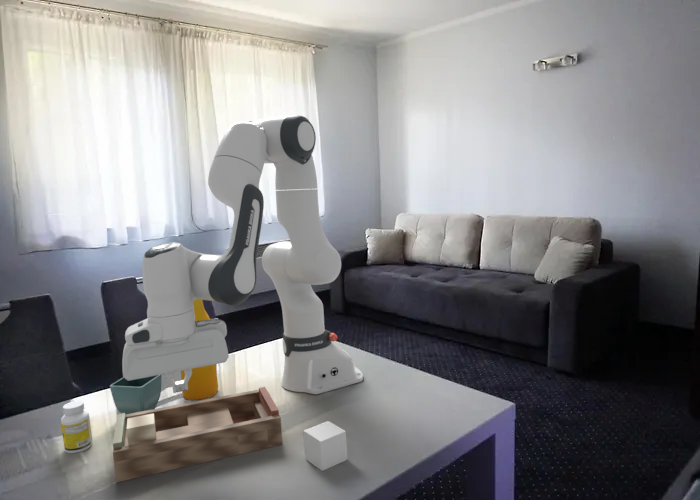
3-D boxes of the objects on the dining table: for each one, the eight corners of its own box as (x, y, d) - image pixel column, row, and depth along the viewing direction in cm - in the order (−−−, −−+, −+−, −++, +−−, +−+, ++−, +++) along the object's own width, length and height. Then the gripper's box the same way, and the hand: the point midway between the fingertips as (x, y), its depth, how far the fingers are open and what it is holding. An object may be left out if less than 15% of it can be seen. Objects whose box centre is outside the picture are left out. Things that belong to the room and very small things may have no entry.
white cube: (305, 459, 101) (303, 430, 100) (329, 448, 105) (327, 420, 104) (322, 471, 96) (320, 441, 96) (347, 459, 100) (345, 430, 99)
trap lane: (265, 412, 123) (263, 384, 122) (282, 444, 107) (280, 412, 106) (121, 441, 112) (117, 411, 111) (116, 482, 96) (112, 447, 95)
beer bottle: (206, 402, 130) (196, 291, 127) (175, 399, 133) (165, 290, 129) (225, 388, 139) (216, 284, 135) (195, 385, 142) (186, 283, 138)
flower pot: (145, 423, 120) (141, 386, 119) (112, 421, 122) (108, 385, 121) (165, 407, 129) (162, 373, 128) (134, 405, 130) (131, 372, 129)
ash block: (156, 436, 105) (153, 413, 104) (156, 447, 100) (154, 423, 100) (129, 441, 103) (127, 418, 102) (129, 453, 98) (126, 428, 98)
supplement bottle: (71, 442, 112) (66, 400, 111) (96, 440, 113) (92, 398, 112) (59, 455, 107) (54, 410, 106) (86, 452, 107) (81, 408, 106)
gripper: (223, 313, 108) (230, 375, 110) (118, 329, 101) (127, 395, 103) (227, 320, 102) (234, 385, 104) (116, 338, 95) (126, 408, 97)
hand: (180, 390), depth 104 cm, fingers closed
